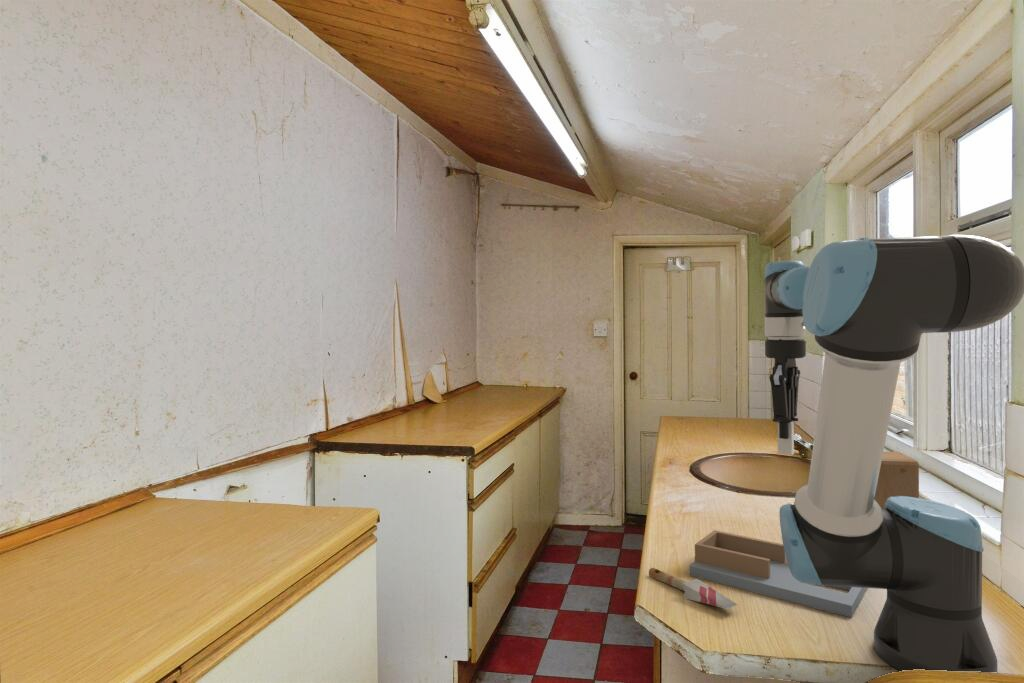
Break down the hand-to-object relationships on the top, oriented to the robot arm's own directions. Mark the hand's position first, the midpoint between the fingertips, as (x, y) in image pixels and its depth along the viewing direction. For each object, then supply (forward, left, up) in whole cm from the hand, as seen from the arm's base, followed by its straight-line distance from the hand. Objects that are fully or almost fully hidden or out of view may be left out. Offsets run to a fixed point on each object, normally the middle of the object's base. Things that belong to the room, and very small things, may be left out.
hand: (785, 453), depth 124 cm
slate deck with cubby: (-5, +1, -24) cm, 24 cm away
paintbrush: (-23, +11, -24) cm, 35 cm away
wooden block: (+28, -14, -24) cm, 39 cm away
